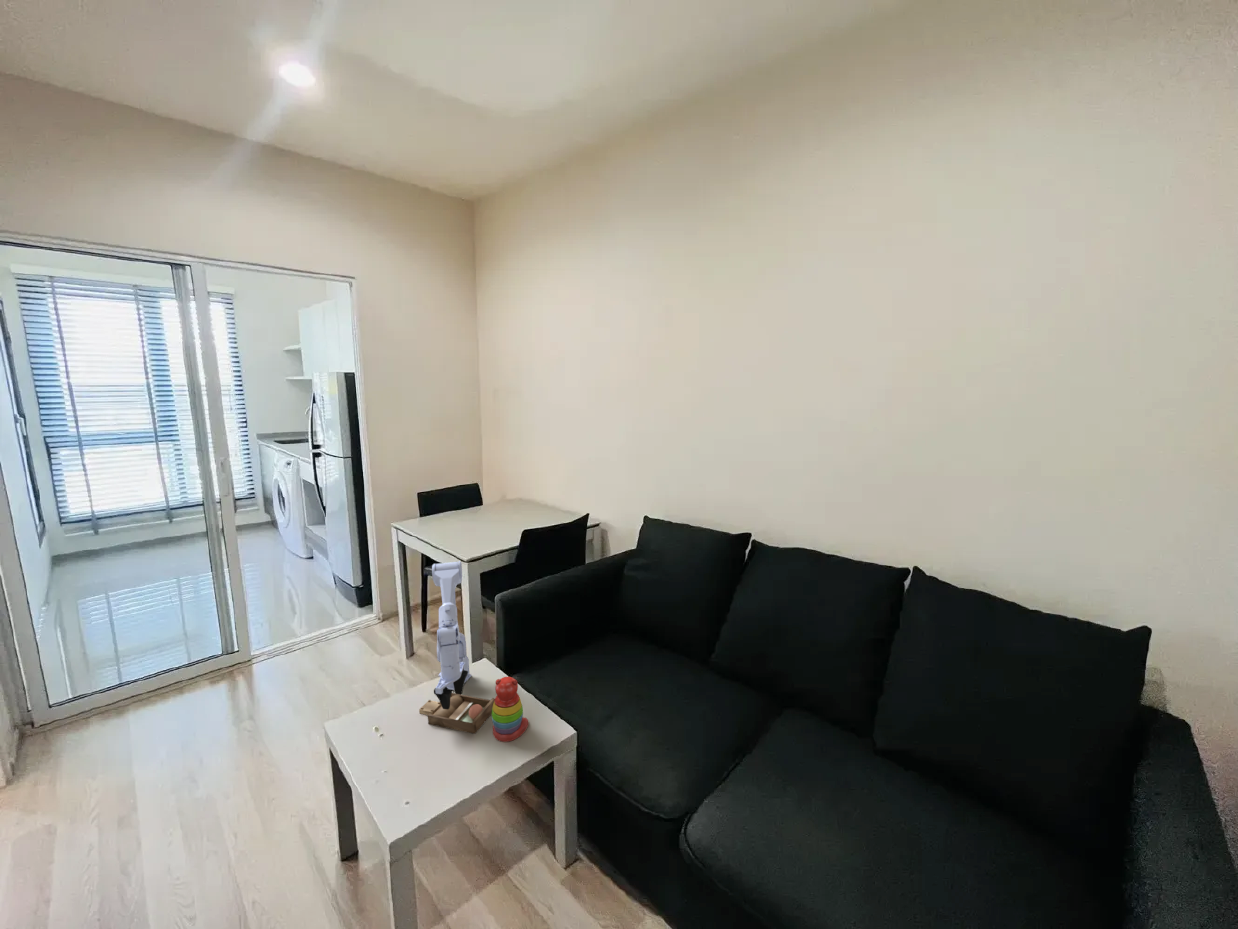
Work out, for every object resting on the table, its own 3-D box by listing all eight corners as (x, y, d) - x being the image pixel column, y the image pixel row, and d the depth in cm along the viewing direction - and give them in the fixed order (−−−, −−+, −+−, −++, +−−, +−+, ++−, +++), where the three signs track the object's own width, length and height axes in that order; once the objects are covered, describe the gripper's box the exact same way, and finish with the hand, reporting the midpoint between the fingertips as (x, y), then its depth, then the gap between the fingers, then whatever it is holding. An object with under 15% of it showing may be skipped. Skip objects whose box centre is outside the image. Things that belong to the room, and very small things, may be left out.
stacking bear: (530, 721, 157) (528, 669, 154) (520, 744, 147) (518, 689, 144) (497, 718, 158) (494, 667, 155) (485, 741, 148) (482, 687, 145)
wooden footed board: (429, 703, 165) (428, 699, 165) (442, 706, 164) (441, 701, 163) (419, 713, 160) (419, 708, 160) (432, 716, 159) (432, 711, 159)
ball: (487, 712, 158) (477, 716, 160) (482, 699, 158) (471, 703, 160) (480, 720, 154) (469, 724, 156) (474, 707, 154) (463, 711, 156)
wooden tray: (451, 708, 167) (450, 689, 166) (495, 717, 163) (494, 698, 162) (429, 732, 156) (427, 712, 155) (475, 742, 151) (474, 722, 150)
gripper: (451, 648, 165) (453, 685, 167) (425, 673, 151) (428, 713, 153) (470, 651, 163) (472, 688, 165) (446, 676, 149) (448, 716, 151)
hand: (452, 700), depth 159 cm, fingers open, 7 cm apart
